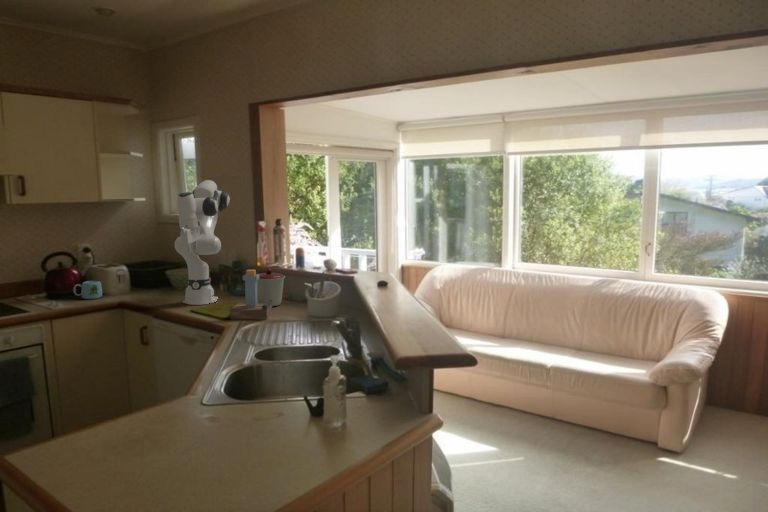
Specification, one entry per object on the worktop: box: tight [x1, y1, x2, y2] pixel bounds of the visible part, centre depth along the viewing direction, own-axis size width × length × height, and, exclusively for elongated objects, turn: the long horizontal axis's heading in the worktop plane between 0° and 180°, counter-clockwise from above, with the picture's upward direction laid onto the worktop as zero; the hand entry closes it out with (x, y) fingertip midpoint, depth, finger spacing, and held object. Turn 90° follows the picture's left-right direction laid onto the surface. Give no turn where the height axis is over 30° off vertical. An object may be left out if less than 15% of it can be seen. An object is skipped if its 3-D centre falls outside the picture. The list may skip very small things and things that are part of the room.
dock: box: [229, 300, 273, 320], centre depth 260 cm, size 16×18×7 cm
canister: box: [257, 268, 286, 308], centre depth 286 cm, size 18×18×21 cm
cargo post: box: [242, 273, 260, 307], centre depth 259 cm, size 7×7×16 cm
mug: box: [72, 280, 103, 300], centre depth 300 cm, size 15×11×10 cm
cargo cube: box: [245, 269, 257, 276], centre depth 258 cm, size 4×4×4 cm
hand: (192, 251), depth 261 cm, fingers open, 8 cm apart
